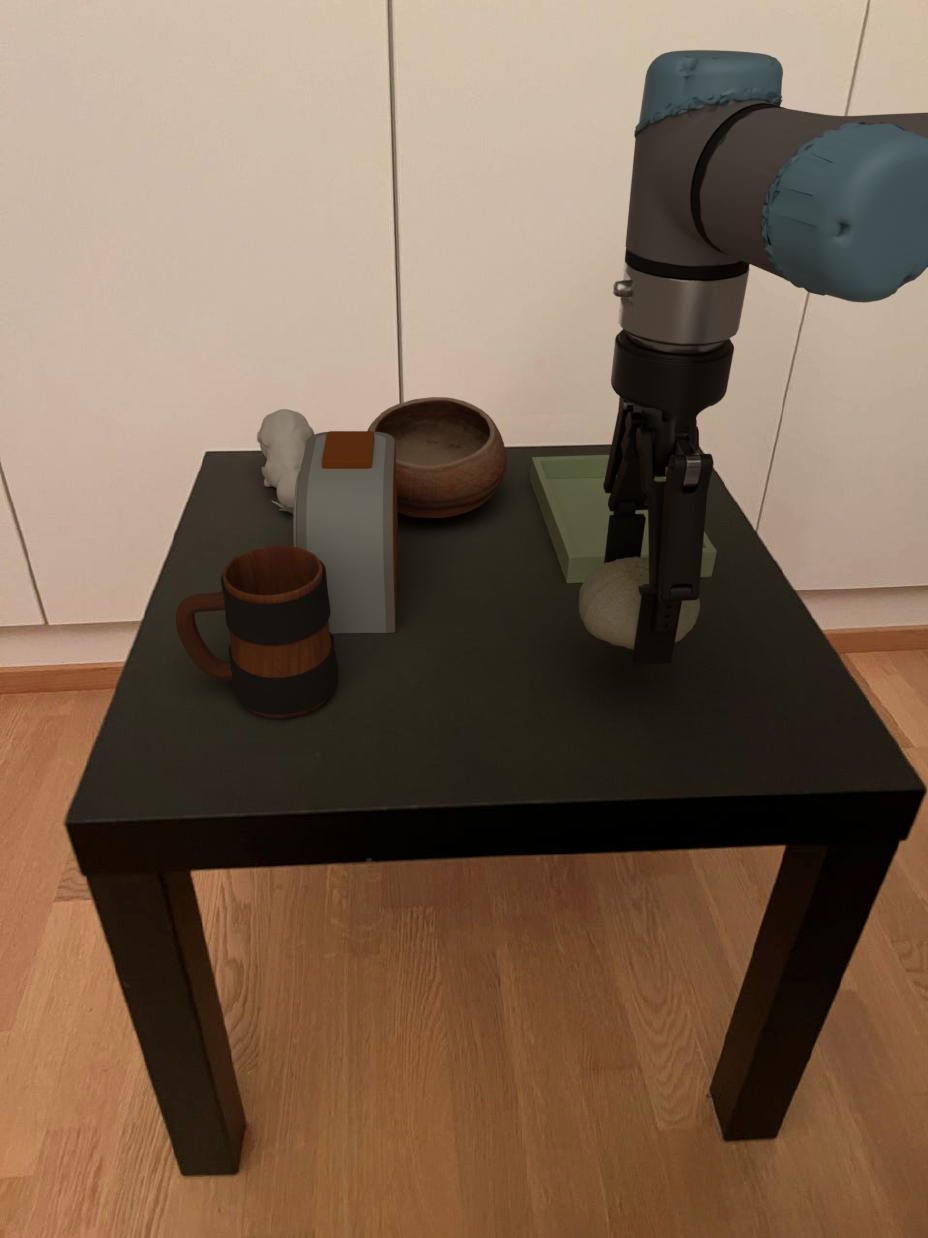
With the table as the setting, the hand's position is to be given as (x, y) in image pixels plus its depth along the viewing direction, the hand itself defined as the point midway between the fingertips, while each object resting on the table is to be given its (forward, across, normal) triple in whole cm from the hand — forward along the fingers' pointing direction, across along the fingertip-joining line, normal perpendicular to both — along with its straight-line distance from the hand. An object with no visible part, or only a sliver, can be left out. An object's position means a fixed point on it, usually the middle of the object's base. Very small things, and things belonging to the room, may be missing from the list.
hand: (634, 621), depth 73 cm
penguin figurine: (+8, -38, -28) cm, 47 cm away
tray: (+8, -29, +6) cm, 30 cm away
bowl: (+8, -35, -13) cm, 38 cm away
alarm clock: (+8, -19, -22) cm, 30 cm away
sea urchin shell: (0, 0, 0) cm, 0 cm away
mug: (+8, -4, -29) cm, 31 cm away
